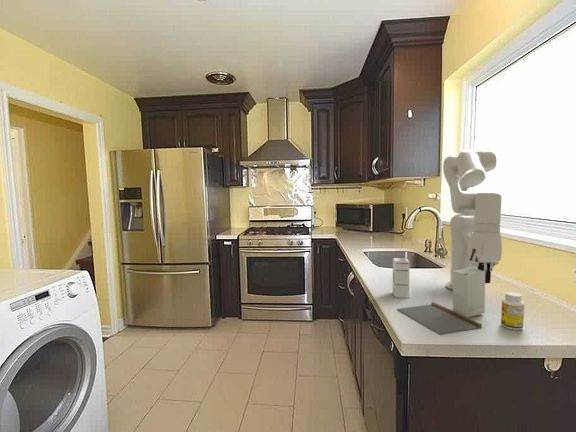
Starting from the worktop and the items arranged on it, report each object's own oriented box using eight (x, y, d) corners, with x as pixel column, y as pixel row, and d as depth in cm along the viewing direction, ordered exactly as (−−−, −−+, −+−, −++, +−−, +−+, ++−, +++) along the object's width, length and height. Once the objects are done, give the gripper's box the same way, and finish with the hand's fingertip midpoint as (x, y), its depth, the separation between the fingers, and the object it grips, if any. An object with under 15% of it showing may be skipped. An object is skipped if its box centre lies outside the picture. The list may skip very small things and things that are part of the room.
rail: (433, 305, 114) (433, 301, 114) (481, 327, 95) (481, 324, 95) (431, 305, 114) (431, 302, 114) (479, 328, 95) (479, 324, 95)
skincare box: (470, 307, 110) (470, 266, 109) (485, 314, 105) (486, 270, 103) (451, 312, 108) (451, 269, 106) (466, 318, 102) (467, 274, 100)
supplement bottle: (501, 321, 100) (503, 290, 99) (523, 326, 96) (525, 293, 95) (499, 327, 95) (501, 294, 95) (522, 332, 92) (524, 298, 91)
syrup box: (409, 298, 122) (410, 261, 121) (393, 297, 123) (394, 260, 122) (406, 293, 127) (407, 258, 126) (391, 292, 129) (392, 257, 127)
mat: (430, 305, 114) (430, 304, 114) (477, 328, 95) (477, 327, 95) (396, 309, 110) (396, 308, 110) (439, 334, 91) (439, 333, 91)
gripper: (493, 226, 111) (491, 277, 112) (459, 228, 107) (457, 281, 108) (514, 229, 104) (511, 283, 105) (479, 230, 100) (476, 287, 101)
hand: (484, 282), depth 107 cm, fingers closed
